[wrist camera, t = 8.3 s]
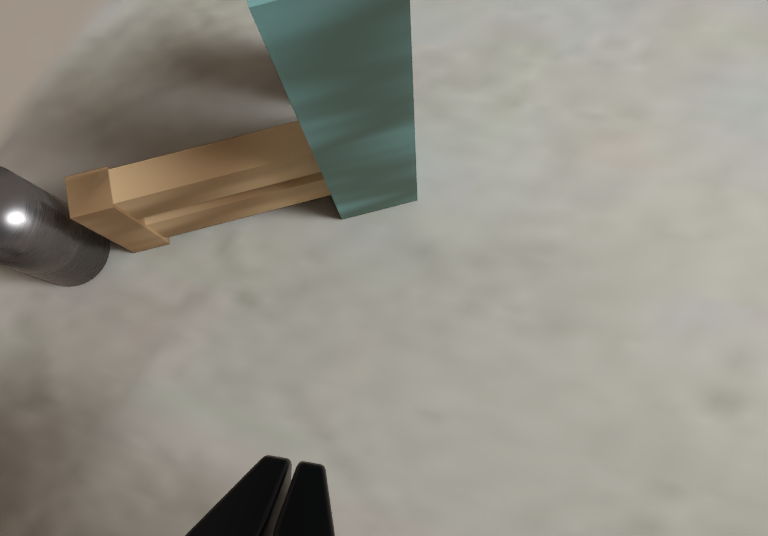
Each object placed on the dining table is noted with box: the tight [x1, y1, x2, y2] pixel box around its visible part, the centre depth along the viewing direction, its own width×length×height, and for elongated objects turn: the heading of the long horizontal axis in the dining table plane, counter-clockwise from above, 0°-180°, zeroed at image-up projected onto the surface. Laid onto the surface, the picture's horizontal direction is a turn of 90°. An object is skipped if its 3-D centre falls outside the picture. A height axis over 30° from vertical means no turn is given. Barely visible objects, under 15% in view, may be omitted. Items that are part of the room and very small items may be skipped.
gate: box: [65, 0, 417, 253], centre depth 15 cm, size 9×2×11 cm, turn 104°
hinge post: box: [0, 166, 110, 287], centre depth 18 cm, size 2×2×4 cm
